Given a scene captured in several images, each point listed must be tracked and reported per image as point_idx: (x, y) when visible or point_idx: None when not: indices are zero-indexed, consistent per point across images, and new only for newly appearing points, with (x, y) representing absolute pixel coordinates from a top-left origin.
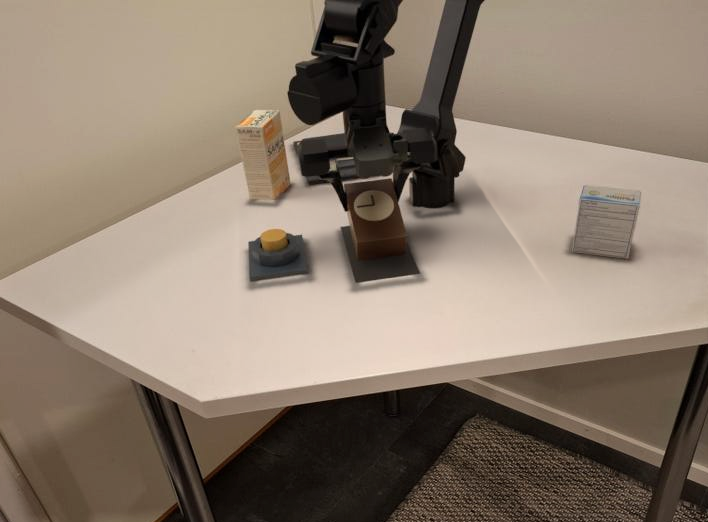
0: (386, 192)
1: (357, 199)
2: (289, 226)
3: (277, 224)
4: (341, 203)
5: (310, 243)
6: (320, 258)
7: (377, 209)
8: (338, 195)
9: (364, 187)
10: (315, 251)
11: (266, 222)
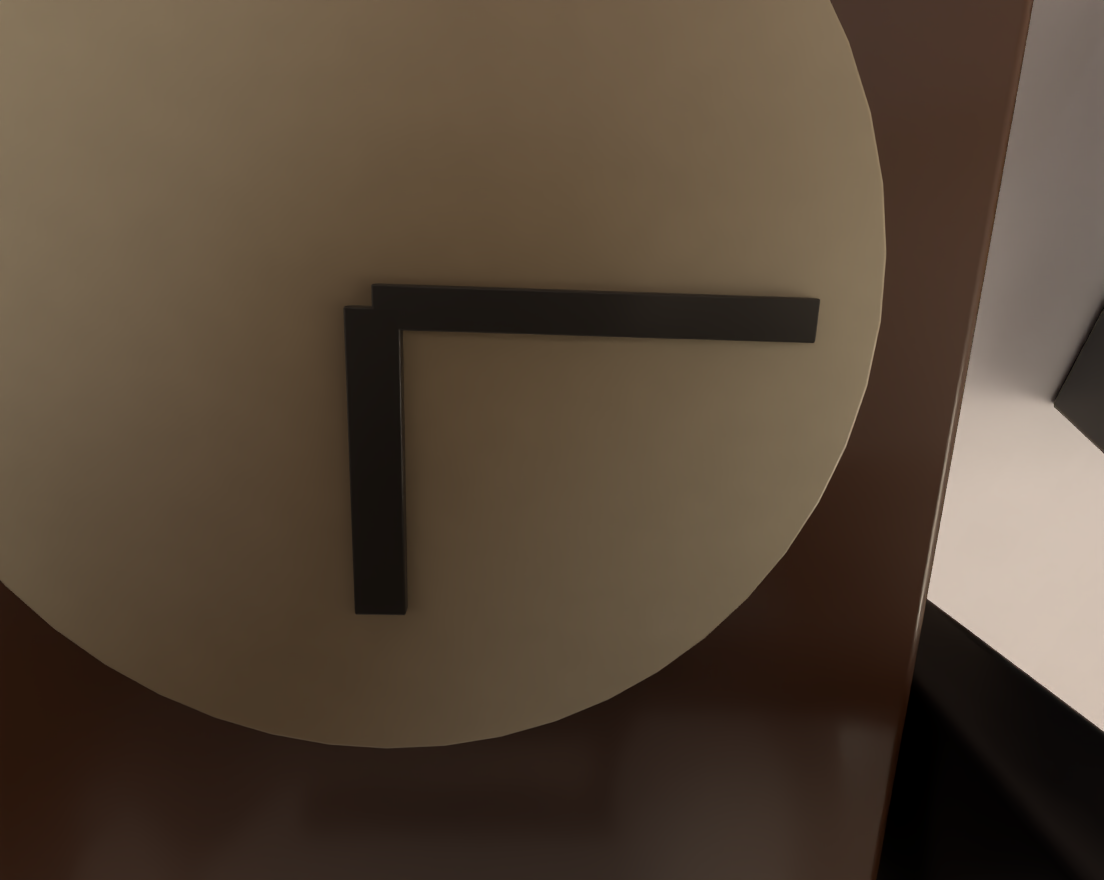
0: (41, 648)
1: (731, 555)
2: (1001, 631)
3: (1055, 664)
4: (927, 601)
5: (992, 404)
6: (1052, 125)
7: (304, 127)
8: (1097, 729)
9: (497, 841)
10: (1023, 270)
11: (1099, 694)
